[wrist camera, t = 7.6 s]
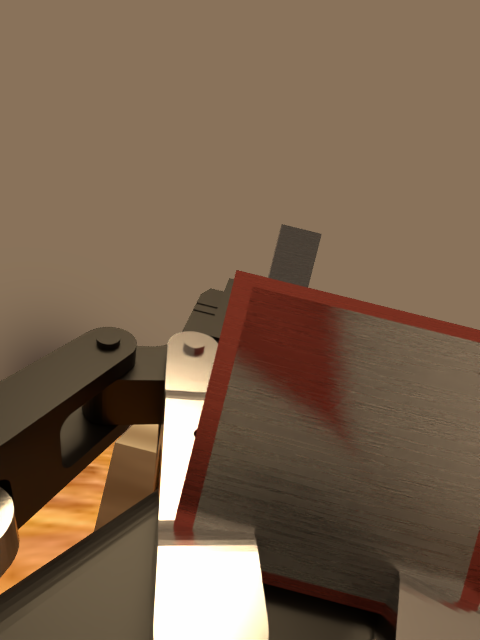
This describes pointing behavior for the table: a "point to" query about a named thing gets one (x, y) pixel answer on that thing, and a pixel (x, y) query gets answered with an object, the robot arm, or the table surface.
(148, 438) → the stand
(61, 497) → the table surface
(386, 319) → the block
